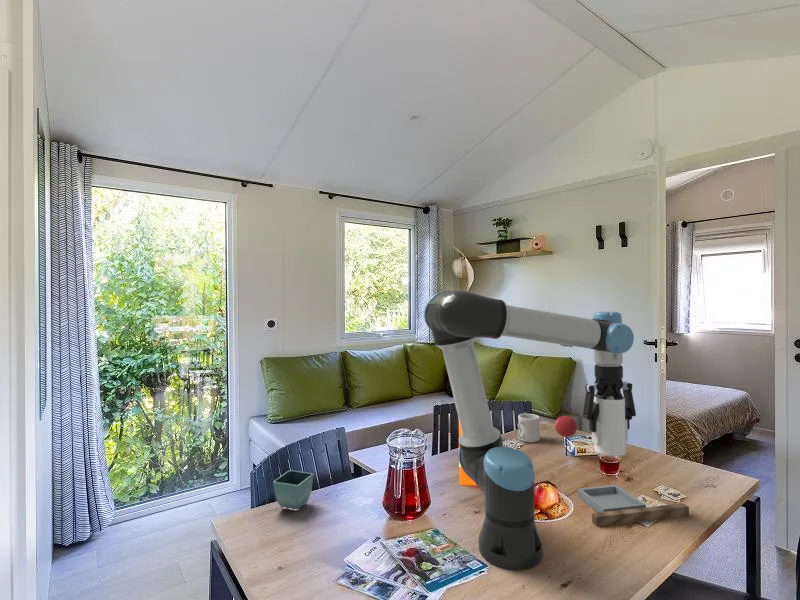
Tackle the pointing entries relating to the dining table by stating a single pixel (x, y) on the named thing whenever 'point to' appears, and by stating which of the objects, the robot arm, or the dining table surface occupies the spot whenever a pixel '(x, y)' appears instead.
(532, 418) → the mug
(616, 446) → the cup
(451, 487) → the dining table surface
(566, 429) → the lollipop
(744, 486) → the dining table surface
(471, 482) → the orange juice
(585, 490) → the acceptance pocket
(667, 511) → the door edge rail
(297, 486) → the flower pot
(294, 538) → the dining table surface
